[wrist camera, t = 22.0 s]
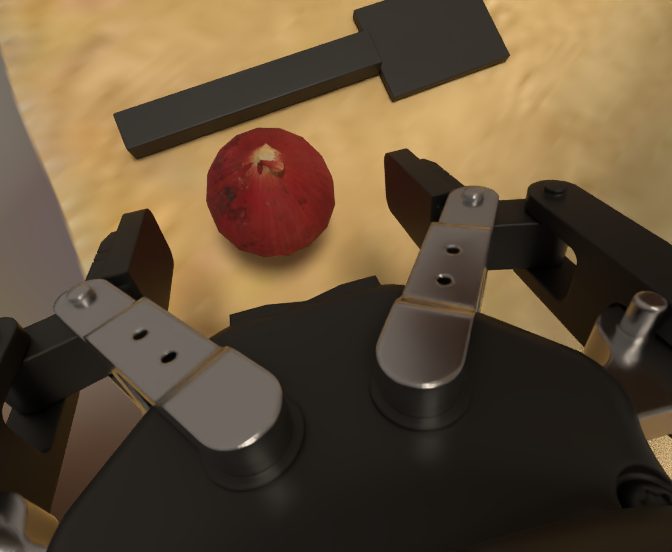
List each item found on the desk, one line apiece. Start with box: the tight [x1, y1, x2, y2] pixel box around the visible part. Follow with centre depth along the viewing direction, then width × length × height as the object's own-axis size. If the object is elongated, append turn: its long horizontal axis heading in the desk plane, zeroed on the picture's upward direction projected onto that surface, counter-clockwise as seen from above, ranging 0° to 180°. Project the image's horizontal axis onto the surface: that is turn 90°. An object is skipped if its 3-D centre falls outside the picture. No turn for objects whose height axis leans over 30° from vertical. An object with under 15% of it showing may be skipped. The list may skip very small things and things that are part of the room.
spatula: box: [113, 0, 510, 159], centre depth 22 cm, size 23×6×1 cm, turn 113°
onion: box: [206, 128, 335, 257], centre depth 18 cm, size 6×6×8 cm
